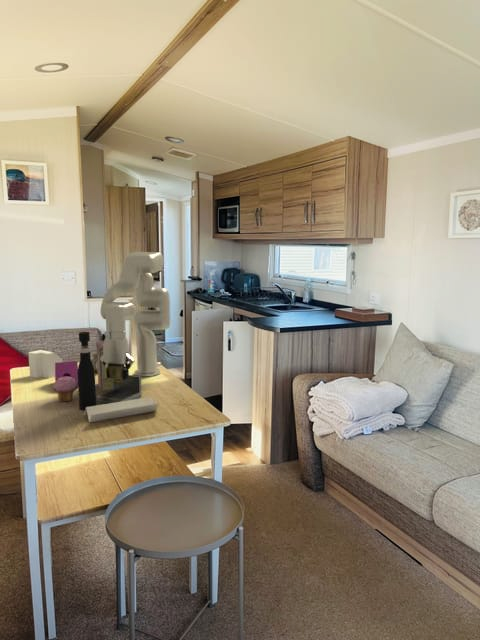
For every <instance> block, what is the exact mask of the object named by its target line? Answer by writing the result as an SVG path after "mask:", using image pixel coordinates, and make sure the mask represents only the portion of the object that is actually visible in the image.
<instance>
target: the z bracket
mask: <svg viewBox="0 0 480 640" xmlns="http://www.w3.org/2000/svg"><path fill="white" fill-rule="evenodd" d="M159 406H160V402H155V403H154V400H153V397H152V396H147V397H141V398H139V399H134V400H128V401H121V402H115V403H109V404H98V405H97V404H96V406H91V407H86V410H85V411H84V414H83V415H84V416H87V418H88V422H89V424H90V423H95V422H100V421H106V420H112V419H118V418H123V417H127V416H134V415H139V414H145V413H151V412H156V411H157V410H158V407H159Z"/></svg>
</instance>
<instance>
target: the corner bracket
mask: <svg viewBox="0 0 480 640" xmlns="http://www.w3.org/2000/svg"><path fill="white" fill-rule="evenodd" d="M59 362H64V359H62V358H61V357H59V355H58V354H56V353H55V351H54V352H52V351H49V350H43V349H39V350H35V351H33V350H32V351H29V352H28V364H29V365H28V366H29V377H31V378H34V379H38V378H45V379H46V378H47V379H52V378H55V363H59Z"/></svg>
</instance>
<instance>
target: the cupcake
mask: <svg viewBox="0 0 480 640" xmlns="http://www.w3.org/2000/svg"><path fill="white" fill-rule="evenodd" d="M53 387H54V390H56V392H57V399H58V401H59V402H71V401H72V400H73V396H74V392H75V390H74V389H75V388H76V387H77V382H76V380H75V379H74V378H72V377H68V376H65V377H61V378H59V379H58V380H57V381H56V382H54V384H53Z"/></svg>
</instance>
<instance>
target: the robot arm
mask: <svg viewBox="0 0 480 640" xmlns="http://www.w3.org/2000/svg"><path fill="white" fill-rule="evenodd" d="M164 261H165V260H164V256H163V254H162V253H161V252H158V251H157V252H156V251H152V252H150V251H135V252H130V253H128V254H127V255H126V256H125V258H124V260H123V262H122V268H121V270H120V274H119V279H118V281H116V282H114V283H113V284H112V285H111V286H110V287H109V288H108V289H107V290H106V292H105V293H104V295H103V296H102V302H101V306H100V316H101V317H102V319H103V320H105V331H104V335H105V336H106V337H105V338H104V340H103V341H104V347H103V355H102V356H101V357H100V360H101V361H102V362H103V365H104V366H105V368H106V372H107V378H110V375H109V371H108V365H109V364H121V365H122V367H123V369H124V370H122V377H123V380H126V379H128V378H129V375H130V372H129V371H130V370H129V369H131V368H132V366H133V365H134V363H135V361H136V360H137V369H136V370H134V376H141V377H154V376H158V375H160V374H161V370H160V369H158V367H159V366H161V364H162V363H161V362H160V361H159V362H158V360H157V359H158V357H157V355H158V354H157V337H156V335H155V333H154V332H153V330H154V331H158V330H159V331H164V330H168V329H169V328H170V325H171V303H170V302H171V300H170V299H171V297H170V293H169V291H168V290H167V289H166V288H165V287H164V288H163V287H155V285H154V283H155V282H154V276H153V275H152V274H155V273H157V272H159V271H161V270H162V269H163V267H164V264H165V263H164ZM134 291H135V298H136V304H137V306H138V307H140V308H153V309H143V310H141V309H140V310H138V311H137V307H136V305H135V304H133V303H132V302H127V301H125V302H124V301H123V302H121V301H115V300H116V299H118V298H120V297H121V296H124V295H127V294H129V293H132V292H134ZM154 308H155V309H156V308H157V309H159V310H157V309H156V310H154ZM132 320H133V324H134V328H135V329H134V330H135V336H136V339H135V340H136V360H135V359H134V358H133V357H132V356H131V355H130V346H129V342H128V338H127V336H126V335H127V332H126V321H132ZM125 364H126V366H125Z"/></svg>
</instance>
